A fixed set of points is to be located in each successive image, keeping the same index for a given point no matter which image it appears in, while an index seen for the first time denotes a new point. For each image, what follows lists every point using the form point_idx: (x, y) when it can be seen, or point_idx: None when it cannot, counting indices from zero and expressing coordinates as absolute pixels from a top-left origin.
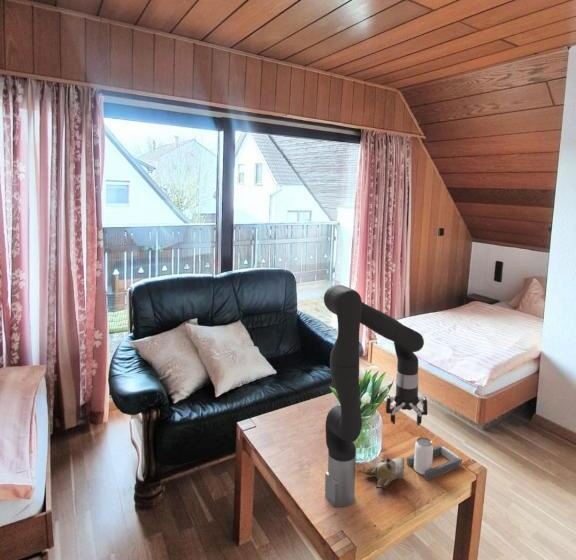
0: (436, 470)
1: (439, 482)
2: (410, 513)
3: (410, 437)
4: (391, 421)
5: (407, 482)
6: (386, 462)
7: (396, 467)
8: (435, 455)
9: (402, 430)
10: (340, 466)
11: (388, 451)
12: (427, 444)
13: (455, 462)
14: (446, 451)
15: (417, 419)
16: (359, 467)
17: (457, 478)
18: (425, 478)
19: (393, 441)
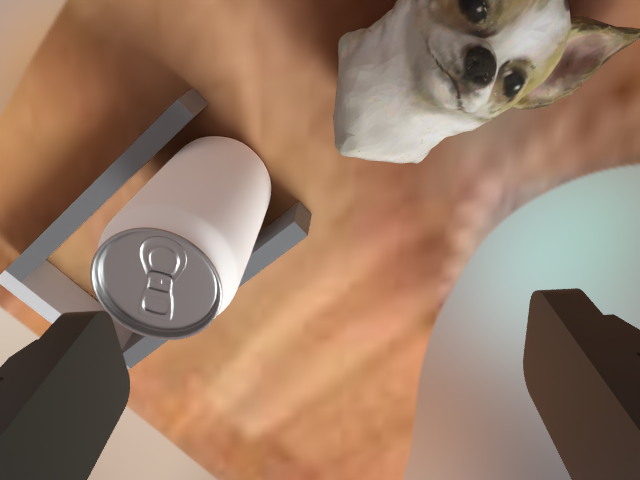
0: (126, 151)
1: (119, 84)
2: None
3: (287, 425)
4: (624, 325)
5: (312, 38)
6: (490, 47)
7: (396, 52)
8: None
9: (325, 466)
10: None
11: (411, 307)
12: (131, 258)
13: (28, 247)
14: None
15: (55, 405)
16: (619, 128)
17: (25, 145)
18: (200, 97)
19: (376, 387)
